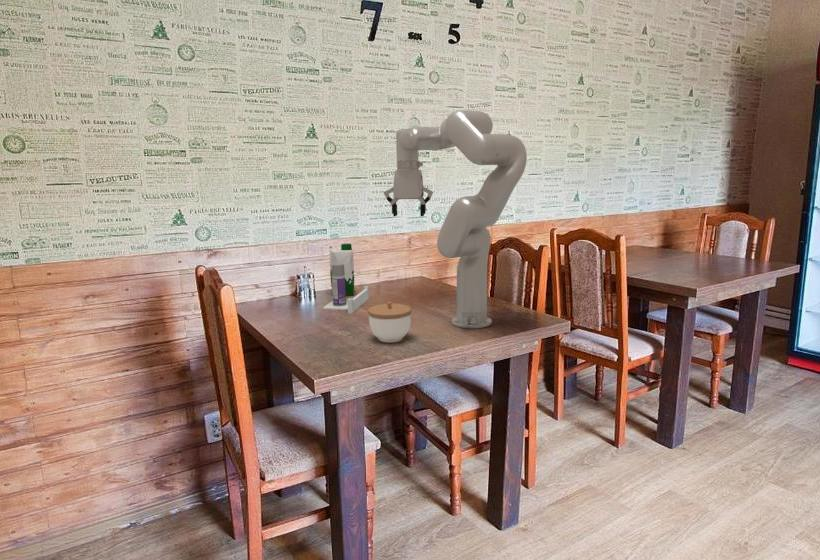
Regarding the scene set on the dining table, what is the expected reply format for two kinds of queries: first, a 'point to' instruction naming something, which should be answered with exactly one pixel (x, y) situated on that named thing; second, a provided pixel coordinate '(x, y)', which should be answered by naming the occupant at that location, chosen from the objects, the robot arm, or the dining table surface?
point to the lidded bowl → (389, 321)
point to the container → (338, 284)
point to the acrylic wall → (358, 300)
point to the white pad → (335, 307)
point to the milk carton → (346, 258)
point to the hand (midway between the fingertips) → (408, 215)
